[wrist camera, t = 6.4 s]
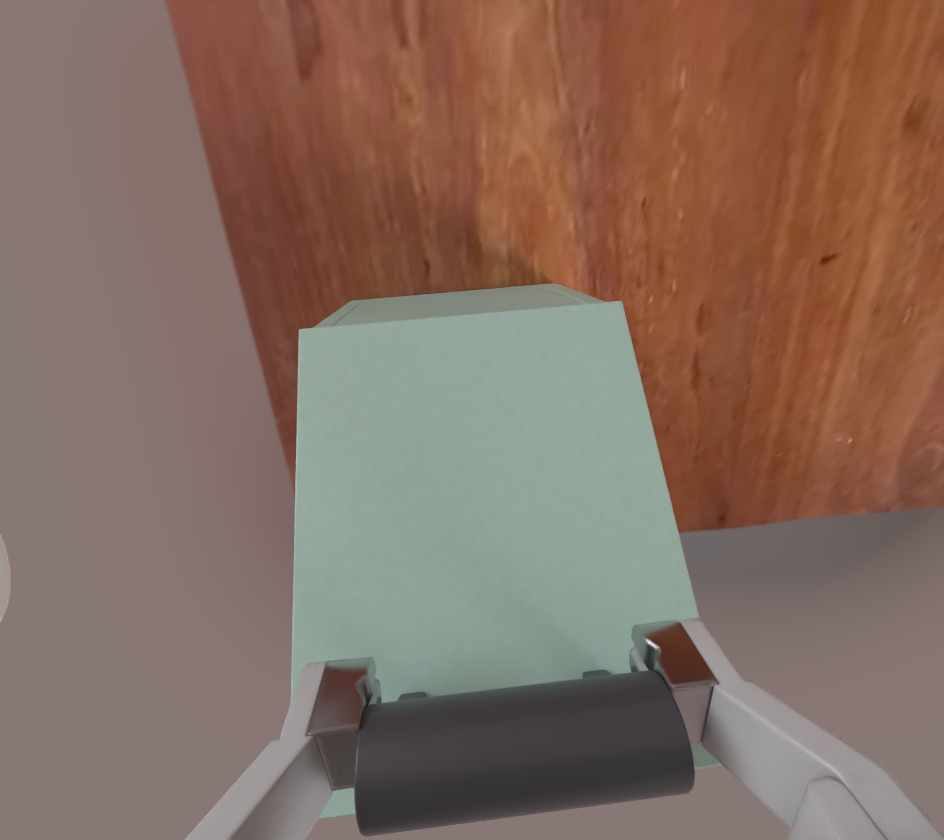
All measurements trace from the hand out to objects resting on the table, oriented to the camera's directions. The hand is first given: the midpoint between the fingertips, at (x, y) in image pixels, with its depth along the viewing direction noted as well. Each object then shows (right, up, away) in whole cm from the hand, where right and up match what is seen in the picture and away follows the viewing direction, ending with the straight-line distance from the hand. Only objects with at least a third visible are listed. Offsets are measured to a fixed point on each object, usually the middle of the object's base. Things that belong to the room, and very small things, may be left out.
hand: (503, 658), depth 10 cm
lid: (0, +2, +4) cm, 5 cm away
